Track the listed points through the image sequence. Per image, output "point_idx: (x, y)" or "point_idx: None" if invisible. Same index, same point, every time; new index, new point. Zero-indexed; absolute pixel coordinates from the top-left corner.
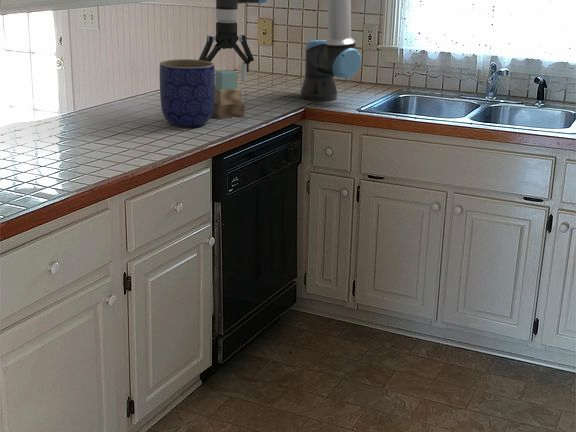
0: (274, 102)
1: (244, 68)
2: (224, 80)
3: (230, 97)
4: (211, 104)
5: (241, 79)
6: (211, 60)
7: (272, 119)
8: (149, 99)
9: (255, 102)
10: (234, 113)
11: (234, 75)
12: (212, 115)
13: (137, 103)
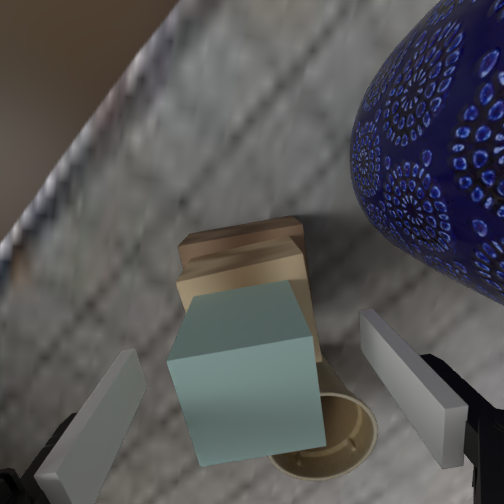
0: (47, 428)
1: (86, 427)
2: (279, 308)
3: (240, 255)
4: (411, 31)
5: (144, 390)
6: (481, 469)
7: (83, 171)
8: (414, 490)
9: None
10: (226, 230)
11: (199, 339)
12: None
13: None
